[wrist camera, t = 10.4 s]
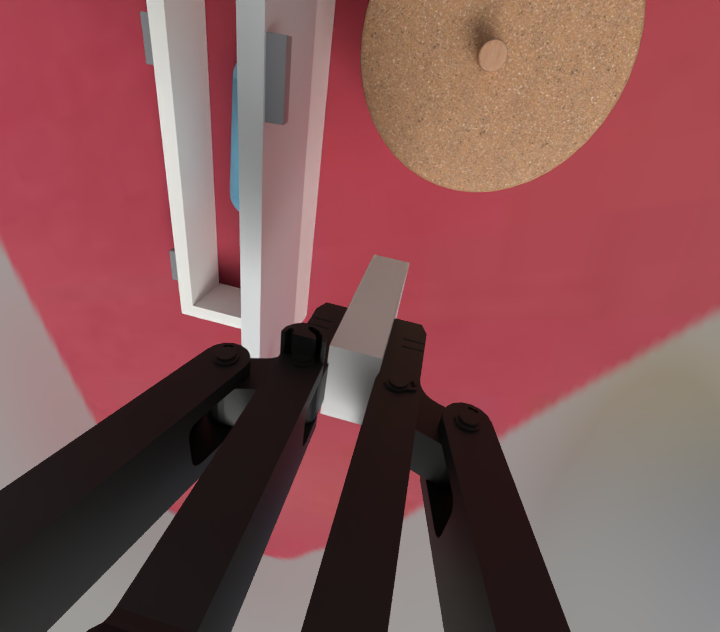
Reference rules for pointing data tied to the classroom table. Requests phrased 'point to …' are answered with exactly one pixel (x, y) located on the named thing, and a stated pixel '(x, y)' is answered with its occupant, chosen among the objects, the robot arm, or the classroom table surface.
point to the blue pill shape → (234, 145)
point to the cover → (271, 160)
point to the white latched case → (195, 159)
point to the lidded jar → (494, 82)
